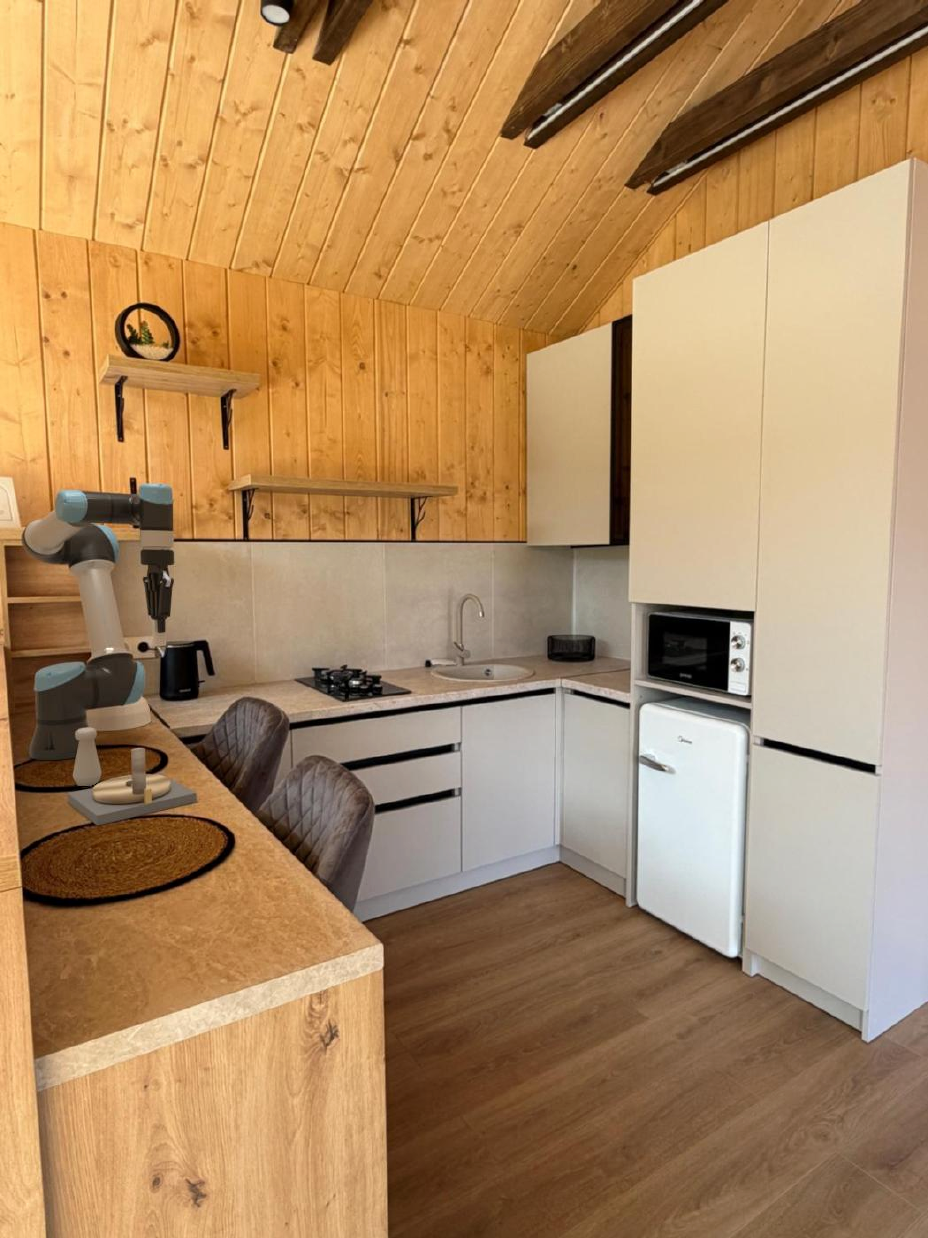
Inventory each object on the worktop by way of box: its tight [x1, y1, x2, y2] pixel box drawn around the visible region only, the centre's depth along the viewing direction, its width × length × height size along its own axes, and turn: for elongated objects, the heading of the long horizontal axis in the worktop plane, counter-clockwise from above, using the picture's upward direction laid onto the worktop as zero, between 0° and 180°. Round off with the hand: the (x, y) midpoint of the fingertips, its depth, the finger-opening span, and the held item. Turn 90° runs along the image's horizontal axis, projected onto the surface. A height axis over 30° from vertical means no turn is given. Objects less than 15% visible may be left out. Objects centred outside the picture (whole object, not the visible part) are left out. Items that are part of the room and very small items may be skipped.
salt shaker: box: [72, 727, 103, 787], centre depth 165 cm, size 6×6×13 cm
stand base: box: [67, 773, 198, 827], centre depth 154 cm, size 18×20×5 cm
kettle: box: [86, 696, 152, 732], centre depth 223 cm, size 20×21×18 cm
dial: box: [92, 747, 171, 804], centre depth 153 cm, size 15×15×10 cm
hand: (159, 645), depth 177 cm, fingers closed
